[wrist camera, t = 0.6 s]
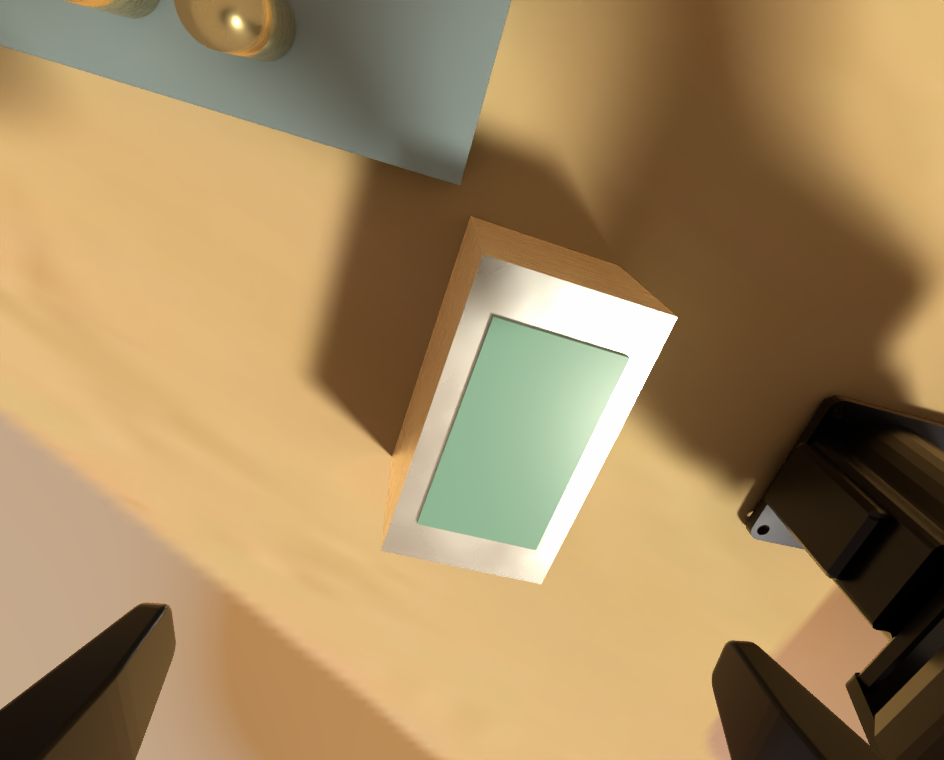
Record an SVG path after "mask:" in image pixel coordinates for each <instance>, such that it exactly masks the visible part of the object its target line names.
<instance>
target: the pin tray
mask: <svg viewBox="0 0 944 760" xmlns="http://www.w3.org/2000/svg"><path fill="white" fill-rule="evenodd" d="M510 3H511V0H0V46H4V47H7V48H10V49H13V50H17V51H20V52H23V53H27V54H30V55H33V56H36V57H40V58H43V59H46V60H50V61H53V62H56V63H59V64H63V65H66V66H69V67H72V68H76V69H79V70H82V71H86V72H89V73H92V74H95V75H99V76H102V77H105V78H109V79H112V80H115V81H118V82H122V83H125V84H128V85H132V86H135V87H138V88H141V89H145V90H148V91H151V92H154V93H158V94H161V95H164V96H168V97H171V98H174V99H177V100H181V101H184V102H187V103H191V104H194V105H197V106H200V107H204V108H207V109H210V110H213V111H217V112H220V113H223V114H227V115H230V116H233V117H236V118H240V119H243V120H246V121H250V122H253V123H256V124H259V125H263V126H266V127H269V128H272V129H276V130H279V131H282V132H286V133H289V134H292V135H295V136H299V137H302V138H305V139H309V140H312V141H315V142H318V143H322V144H325V145H328V146H332V147H335V148H338V149H341V150H345V151H348V152H351V153H354V154H358V155H361V156H364V157H368V158H371V159H374V160H377V161H381V162H384V163H387V164H391V165H394V166H397V167H400V168H404V169H407V170H410V171H413V172H417V173H420V174H423V175H427V176H430V177H433V178H436V179H440V180H443V181H446V182H450V183H453V184H456V185H459V186H460V184H461V181H462V177H463V173H464V170H465V166H466V162H467V159H468V155H469V152H470V148H471V144H472V141H473V137H474V133H475V130H476V126H477V123H478V119H479V115H480V112H481V108H482V104H483V101H484V97H485V94H486V90H487V86H488V83H489V79H490V75H491V72H492V68H493V65H494V61H495V57H496V54H497V50H498V46H499V43H500V39H501V36H502V32H503V28H504V25H505V21H506V17H507V14H508V10H509V7H510Z"/></svg>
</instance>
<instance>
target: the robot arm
mask: <svg viewBox="0 0 944 760" xmlns="http://www.w3.org/2000/svg"><path fill="white" fill-rule="evenodd" d="M838 407H839V409H838V410H837V411H836V412H834V413H833V411H834V410H835V409H836V408H838ZM762 525H763V526H762ZM760 526H762V527H760ZM759 527H760V528H759ZM746 529H747V530H748V531H749V533H750V534H751V535H752V537H753V538H755V539H757V540H762V541H767V542H771V543H776V544H781V545H786V546H791V547H795V548H800V549H805V550H806V552H807V553H808V554H809V555H810V556H811V558H812V559H813V560H814V561H815V562H816V564H817V565H818V566H819V567H820V568H821V570H822V571H823V572H824V573H825V574H826V576H828V577H829V578H831V579H832V580H833V581H834V582H835V583H836V584H837V585H838V587H839V588H840V589H841V590H842V591H843V593H844V594H845V595H846V596H847V597H848V598H849V600H850V601H851V602H852V603H853V605H854V606H855V607H856V608H857V609H858V611H859V612H860V613H861V614H862V615H863V616H864V618H865V619H866V620H867V621H868V623H869V624H870V625H871V626H872V627H873V628H874V629H876V630H880V631H881V632H882V634H883V635H884V636H885V637H886V638H887V639H888V641H889V643H888V644H887V645H886V646H885V647H884V648H883V649H882V650H881V651H880V652H879V654H878V655H877V656H876V657H875V658H874V659H873V660H872V661H871V662H870V663H869V664H868V665H867V667H865V669H864V670H863V671H862V672H861V673H855V674H854V675H853V676H852V678H851V679H850V680H849V681H848V682H847V683H846V688H847V691H848V693H849V695H850V698H851V700H852V703H853V705H854V708H855V710H856V712H857V715H858V717H859V720H860V722H861V725H862V727H863V730H864V732H865V734H866V737H867V739H868V742H869V744H870V745H869V744H867V743H866V742H865V741H864V740H863V739H862V738H861V737H859V736H858V735H857V734H856V733H855V732H854V731H853V730H852V729H850V728H849V727H848V726H847V725H846V724H845V723H844V722H843V721H842V720H841V719H839V718H838V717H837V716H836V715H835V714H834V713H833V712H831V711H830V710H829V709H828V708H827V707H826V706H825V705H824V704H823V703H821V702H820V701H819V700H818V699H817V698H816V697H815V696H813V694H811V693H810V692H809V691H808V690H807V689H806V688H805V687H803V686H802V685H801V684H800V683H799V682H798V681H797V680H796V679H795V678H793V677H792V676H791V675H790V674H789V673H788V672H787V671H786V670H785V669H783V668H782V667H781V666H780V665H779V664H778V663H777V662H776V661H774V660H773V659H772V658H771V657H770V656H769V655H768V654H767V653H765V652H764V651H763V650H762V649H761V648H760V647H759V646H757V645H756V644H754V643H752V642H748V641H733V640H732V641H729V642H727V643H726V644H725V646H724V648H723V650H722V653H721V655H720V657H719V659H718V662H717V664H716V666H715V668H714V670H713V674H712V687H713V692H714V695H715V699H716V703H717V707H718V711H719V715H720V718H721V722H722V726H723V730H724V734H725V737H726V741H727V745H728V749H729V753H730V757H731V760H944V424H943V423H939V422H935V421H932V420H928V419H924V418H921V417H917V416H913V415H909V414H906V413H902V412H898V411H895V410H891V409H887V408H883V407H880V406H876V405H872V404H869V403H865V402H861V401H857V400H854V399H850V398H846V397H843V396H831V397H829V398H827V399H826V400H824V401H823V403H822V404H821V405H820V407H819V408H818V410H817V411H816V413H815V414H814V416H813V418H812V419H811V421H810V422H809V424H808V426H807V427H806V429H805V430H804V432H803V434H802V435H801V437H800V438H799V440H798V441H797V443H796V445H795V446H794V448H793V449H792V451H791V453H790V454H789V456H788V457H787V459H786V460H785V462H784V464H783V465H782V467H781V468H780V470H779V472H778V473H777V475H776V476H775V478H774V480H773V481H772V483H771V484H770V486H769V487H768V489H767V491H766V492H765V494H764V495H763V497H762V499H761V500H760V502H759V503H758V505H757V507H756V508H755V510H754V511H753V513H752V514H751V516H750V518H749V519H748V521H747V523H746ZM175 644H176V640H175V632H174V625H173V618H172V611H171V608H170V607H169V605H167V604H159V603H142V604H139V605H137V606H136V607H134V608H133V609H132V610H130V611H129V612H128V613H127V614H125V615H124V616H123V617H121V618H120V619H119V620H117V621H116V622H115V623H113V624H112V625H111V626H109V627H108V628H107V629H106V630H104V631H103V632H102V633H100V634H99V635H98V636H96V637H95V638H94V639H92V640H91V641H90V642H88V643H87V644H86V645H85V646H83V647H82V648H81V649H79V650H78V651H77V652H75V653H74V654H73V655H71V656H70V657H69V658H68V659H66V660H65V661H64V662H62V663H61V664H60V665H58V666H57V667H56V668H54V669H53V670H52V671H50V672H49V673H48V674H46V675H45V676H44V677H43V678H41V679H40V680H39V681H37V682H36V683H35V684H33V685H32V686H31V687H29V689H27V690H26V691H24V692H23V693H22V694H20V695H19V696H18V697H16V698H15V699H14V700H12V701H11V702H10V703H8V704H7V705H6V706H4V707H3V708H2V709H1V710H0V760H135V759H136V756H137V754H138V751H139V749H140V746H141V743H142V741H143V738H144V735H145V733H146V730H147V727H148V724H149V722H150V719H151V716H152V713H153V711H154V708H155V705H156V702H157V700H158V697H159V694H160V691H161V689H162V686H163V683H164V681H165V678H166V675H167V672H168V669H169V667H170V664H171V661H172V658H173V655H174V651H175Z"/></svg>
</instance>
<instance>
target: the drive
mask: <svg viewBox="0 0 944 760" xmlns="http://www.w3.org/2000/svg"><path fill="white" fill-rule="evenodd" d="M677 318H678V317H677V316H676V315H675V314H674V313H672V312H671V311H670V310H669V309H668V308H667V307H666V306H665V305H663V304H662V303H661V302H660V301H659V300H658V299H657V298H655V297H654V296H653V295H652V294H651V293H650V292H649V291H647V290H646V289H645V288H644V287H643V286H642V285H641V284H639V283H638V282H637V281H636V280H635V279H634V278H633V277H631V276H630V275H629V274H628V273H627V272H626V271H625V270H623V269H622V268H621V267H620V266H618V265H615V264H612V263H609V262H606V261H603V260H600V259H597V258H594V257H591V256H588V255H585V254H582V253H579V252H576V251H573V250H570V249H567V248H564V247H561V246H558V245H556V244H553V243H550V242H547V241H544V240H541V239H538V238H535V237H532V236H529V235H526V234H523V233H520V232H517V231H514V230H511V229H508V228H505V227H502V226H499V225H496V224H493V223H490V222H487V221H484V220H481V219H478V218H475V217H472V216H470V219H469V222H468V225H467V228H466V231H465V234H464V237H463V240H462V243H461V247H460V250H459V253H458V256H457V259H456V262H455V265H454V268H453V271H452V274H451V277H450V280H449V283H448V286H447V290H446V293H445V296H444V299H443V302H442V305H441V308H440V311H439V314H438V317H437V320H436V323H435V326H434V329H433V332H432V336H431V339H430V342H429V345H428V348H427V351H426V354H425V357H424V360H423V363H422V366H421V369H420V372H419V375H418V379H417V382H416V385H415V388H414V391H413V394H412V397H411V400H410V403H409V406H408V409H407V412H406V415H405V418H404V421H403V425H402V428H401V431H400V434H399V437H398V440H397V443H396V446H395V449H394V452H393V455H392V461H391V470H390V478H389V486H388V495H387V503H386V512H385V520H384V529H383V537H382V546H381V551H384V552H389V553H394V554H399V555H404V556H408V557H413V558H418V559H423V560H427V561H432V562H437V563H442V564H447V565H451V566H456V567H461V568H466V569H471V570H475V571H480V572H485V573H490V574H494V575H499V576H504V577H509V578H514V579H518V580H523V581H528V582H533V583H538V584H542V582H543V580H544V578H545V576H546V574H547V572H548V570H549V568H550V566H551V564H552V562H553V560H554V558H555V556H556V554H557V552H558V550H559V548H560V546H561V544H562V543H563V541H564V539H565V537H566V535H567V533H568V531H569V529H570V527H571V525H572V523H573V521H574V519H575V517H576V515H577V513H578V511H579V509H580V507H581V505H582V503H583V502H584V500H585V498H586V496H587V494H588V492H589V490H590V488H591V486H592V484H593V482H594V480H595V478H596V476H597V474H598V472H599V470H600V468H601V466H602V464H603V462H604V461H605V459H606V457H607V455H608V453H609V451H610V449H611V447H612V445H613V443H614V441H615V439H616V437H617V435H618V433H619V431H620V429H621V427H622V425H623V423H624V421H625V420H626V418H627V416H628V414H629V412H630V410H631V408H632V406H633V404H634V402H635V400H636V398H637V396H638V394H639V392H640V390H641V388H642V386H643V384H644V382H645V380H646V379H647V377H648V375H649V373H650V371H651V369H652V367H653V365H654V363H655V361H656V359H657V357H658V355H659V353H660V351H661V349H662V347H663V345H664V343H665V341H666V339H667V338H668V336H669V334H670V332H671V330H672V328H673V326H674V324H675V322H676V320H677Z"/></svg>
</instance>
